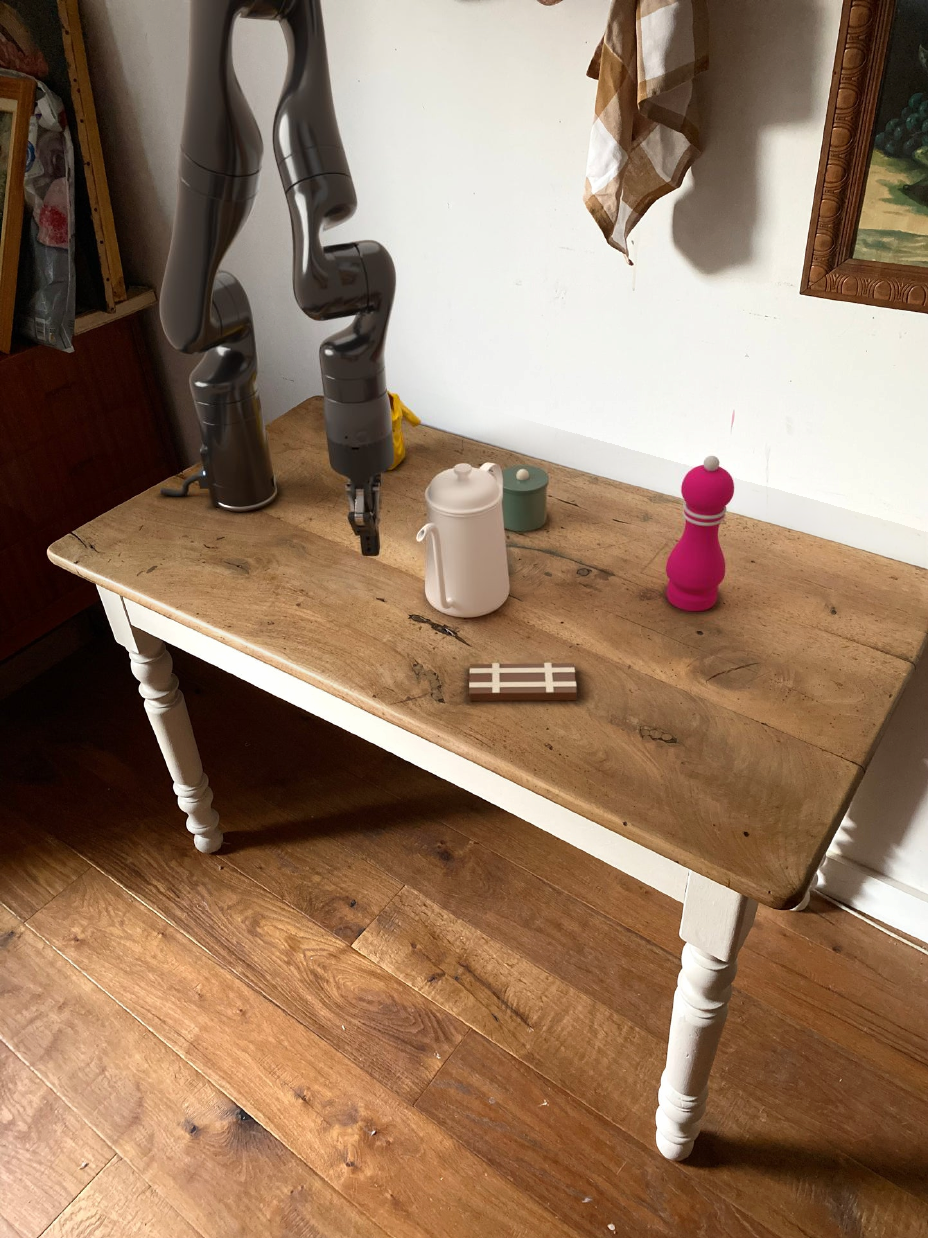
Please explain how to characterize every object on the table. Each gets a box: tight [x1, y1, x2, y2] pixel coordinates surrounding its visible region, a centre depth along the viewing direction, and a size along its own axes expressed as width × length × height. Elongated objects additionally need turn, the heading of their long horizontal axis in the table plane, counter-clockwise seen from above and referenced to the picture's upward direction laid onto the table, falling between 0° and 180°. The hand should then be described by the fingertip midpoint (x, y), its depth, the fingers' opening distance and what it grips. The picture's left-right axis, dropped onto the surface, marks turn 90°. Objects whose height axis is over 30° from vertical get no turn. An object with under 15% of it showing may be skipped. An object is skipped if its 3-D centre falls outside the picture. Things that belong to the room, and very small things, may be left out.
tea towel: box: [468, 662, 578, 702], centre depth 104 cm, size 12×5×1 cm, turn 89°
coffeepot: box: [416, 462, 511, 618], centre depth 112 cm, size 11×25×19 cm, turn 158°
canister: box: [501, 464, 550, 533], centre depth 130 cm, size 7×7×8 cm
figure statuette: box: [387, 390, 422, 471], centre depth 141 cm, size 18×8×22 cm, turn 151°
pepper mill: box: [665, 455, 735, 612], centre depth 110 cm, size 7×7×20 cm
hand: (371, 552), depth 115 cm, fingers closed
